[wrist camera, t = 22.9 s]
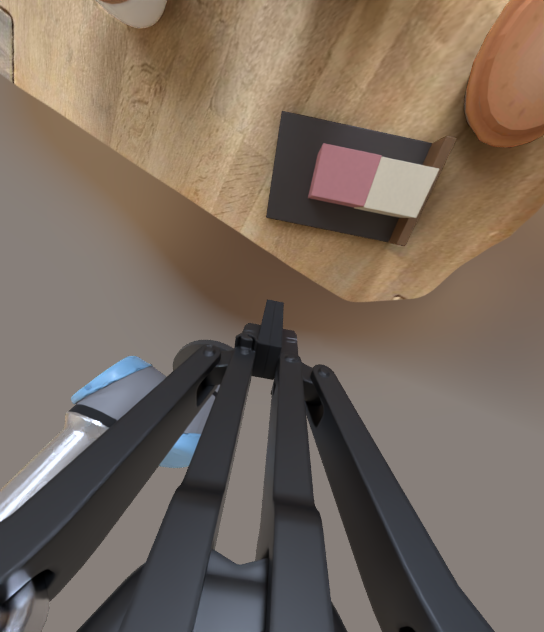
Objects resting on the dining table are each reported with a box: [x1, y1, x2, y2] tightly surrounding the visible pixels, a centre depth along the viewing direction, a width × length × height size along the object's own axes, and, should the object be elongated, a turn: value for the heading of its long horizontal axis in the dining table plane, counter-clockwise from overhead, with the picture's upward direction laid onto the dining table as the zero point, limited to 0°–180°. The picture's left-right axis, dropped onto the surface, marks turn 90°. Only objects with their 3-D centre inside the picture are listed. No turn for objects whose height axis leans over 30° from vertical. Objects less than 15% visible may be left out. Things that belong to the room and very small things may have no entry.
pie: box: [464, 0, 544, 148], centre depth 24 cm, size 15×16×5 cm
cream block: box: [354, 157, 439, 218], centre depth 29 cm, size 6×8×5 cm
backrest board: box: [266, 111, 457, 246], centre depth 31 cm, size 14×24×4 cm, turn 80°
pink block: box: [308, 143, 382, 207], centre depth 29 cm, size 6×8×5 cm
